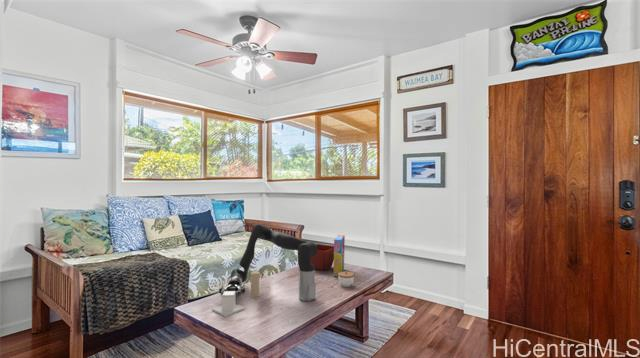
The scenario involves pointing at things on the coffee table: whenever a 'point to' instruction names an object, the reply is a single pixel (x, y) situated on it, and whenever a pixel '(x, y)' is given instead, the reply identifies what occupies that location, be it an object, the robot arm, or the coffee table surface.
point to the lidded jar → (346, 278)
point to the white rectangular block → (228, 300)
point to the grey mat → (229, 312)
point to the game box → (339, 254)
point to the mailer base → (255, 283)
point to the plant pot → (323, 257)
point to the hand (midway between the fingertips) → (230, 293)
